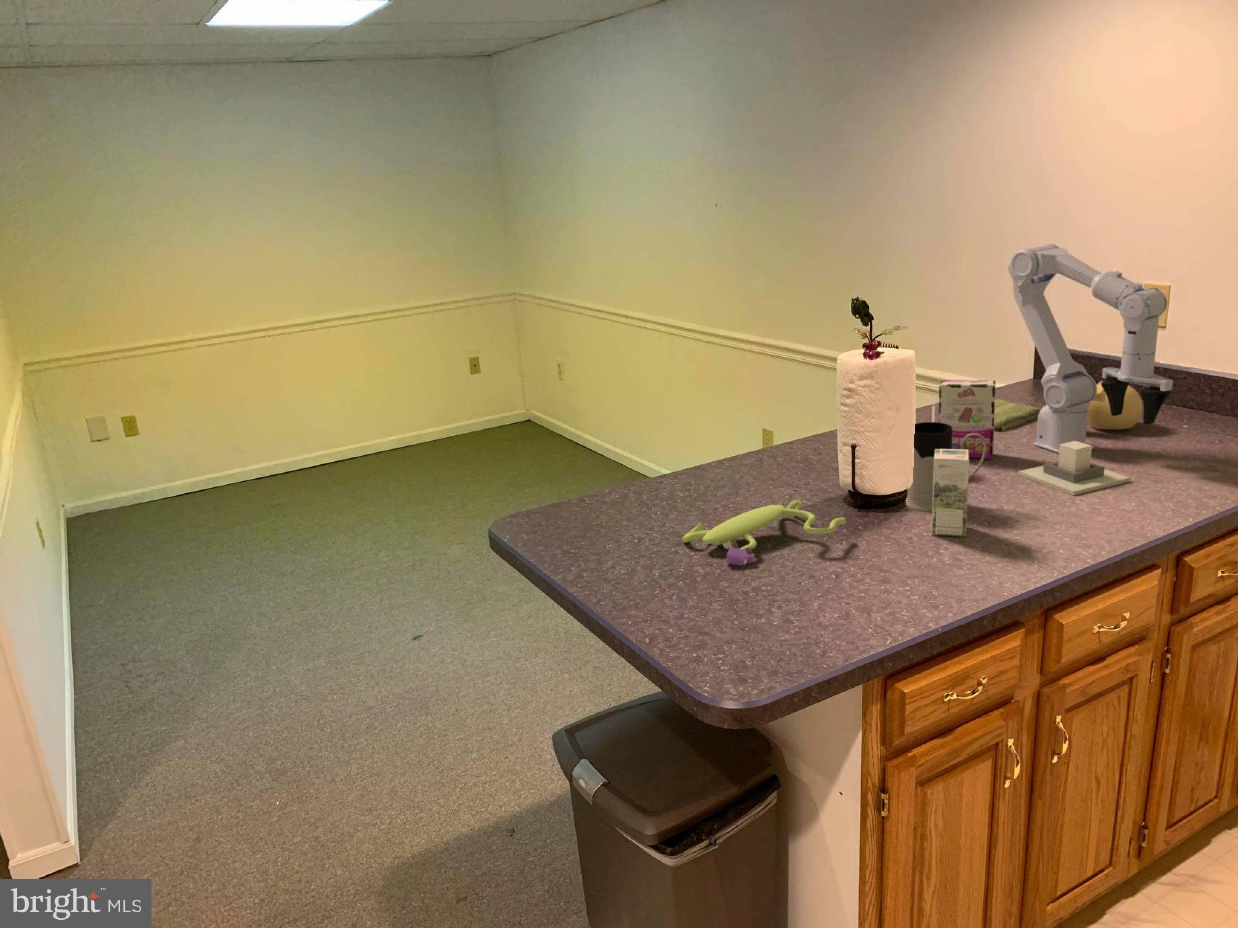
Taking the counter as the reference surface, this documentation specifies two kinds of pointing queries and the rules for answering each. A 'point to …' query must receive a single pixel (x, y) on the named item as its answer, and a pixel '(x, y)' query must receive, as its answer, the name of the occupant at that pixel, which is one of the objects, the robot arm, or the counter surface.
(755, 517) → the figurine
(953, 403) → the candy bar box
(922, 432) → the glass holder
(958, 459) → the syrup box
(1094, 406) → the sculpture
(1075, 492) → the charging dock
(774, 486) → the counter surface
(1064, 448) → the block
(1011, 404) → the washcloth
